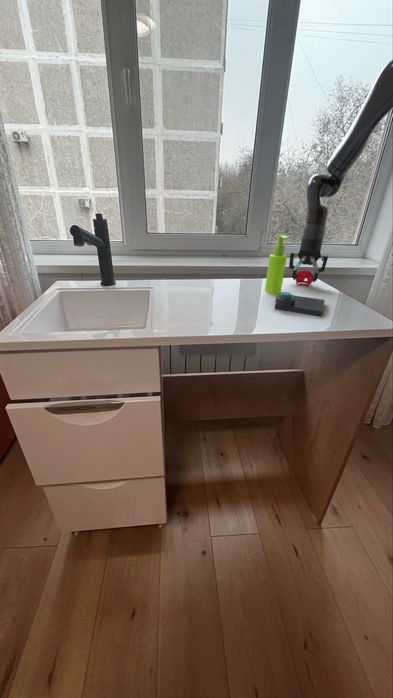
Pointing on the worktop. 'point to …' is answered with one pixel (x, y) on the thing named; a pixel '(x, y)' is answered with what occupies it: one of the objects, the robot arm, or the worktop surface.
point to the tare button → (286, 295)
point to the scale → (300, 305)
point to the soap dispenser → (276, 267)
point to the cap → (302, 275)
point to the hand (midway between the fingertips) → (303, 280)
